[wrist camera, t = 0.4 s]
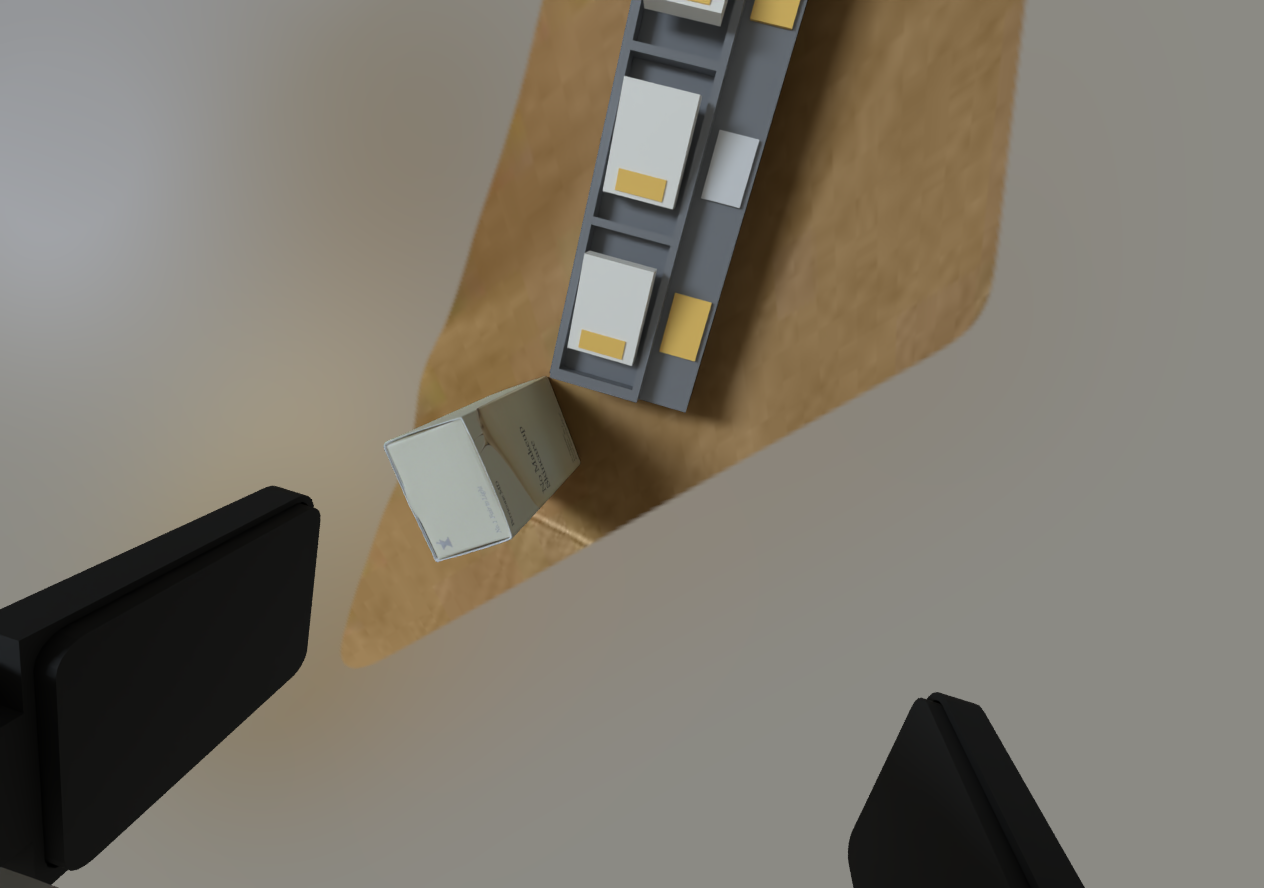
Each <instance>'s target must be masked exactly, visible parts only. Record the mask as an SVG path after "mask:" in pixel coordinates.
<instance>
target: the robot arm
mask: <svg viewBox="0 0 1264 888" xmlns="http://www.w3.org/2000/svg"><path fill="white" fill-rule="evenodd" d="M319 529H320V513H319V511H318V510H317V509H316V508H314V505H313V502H312V499H311V498H310V497H309V496H306V495H303V494H300V493H296V492H293V491H290V490H287V489H284V488H280V487H277V486H269V487H266V488H264V489H261V490H259V491H257V492H255V493H253V494H250V495H248V496H246V497H244V498H242V499H240V500H238V501H235V502H233V503H231V504H229V505H227V506H224V507H222V508H220V509H218V510H216V511H213V512H211V513H209V514H207V515H205V516H203V517H201V518H198V519H196V520H194V521H192V522H190V523H187V524H185V525H183V526H181V527H179V528H176V529H174V530H172V531H170V532H168V533H165V534H163V535H161V536H159V537H157V538H155V539H152V540H150V541H148V542H146V543H144V544H142V545H139V546H137V547H135V548H133V549H131V550H128V551H126V552H124V553H122V554H120V555H118V556H115V557H113V558H111V559H109V560H107V561H105V562H103V563H100V564H98V565H96V566H94V567H91V568H89V569H87V570H85V571H83V572H81V573H78V574H76V575H74V576H72V577H70V578H68V579H65V580H63V581H61V582H59V583H57V584H54V585H52V586H50V587H48V588H46V589H44V590H42V591H39V592H37V593H35V594H33V595H30V596H28V597H26V598H24V599H22V600H20V601H17V602H15V603H13V604H11V605H9V606H7V607H4V608H2V609H0V888H58V887H55V886H52V885H51V884H53V883H54V882H55V881H56V880H57V879H58V878H59V877H60V876H62V875H63V874H64V873H65V872H66V871H67V870H70V871H73V870H77V869H79V868H81V867H83V866H85V865H86V864H88V863H89V862H90V861H91V860H93V859H94V858H95V857H96V856H97V855H98V854H99V853H100V852H102V851H103V850H104V849H105V848H106V847H107V846H108V845H109V844H110V843H111V842H112V841H114V840H115V839H116V838H117V837H118V836H119V835H120V834H121V833H122V832H123V831H125V830H126V829H127V828H128V827H129V826H130V825H131V824H132V823H133V822H134V821H135V820H136V819H138V818H139V817H140V816H141V815H142V814H143V813H144V812H145V811H146V810H147V809H149V808H150V807H151V806H152V805H153V804H154V803H155V802H156V801H157V800H158V799H159V798H161V797H162V796H163V795H164V794H165V793H166V792H167V791H168V790H169V789H170V788H171V787H173V786H174V785H175V784H176V783H177V782H178V781H179V780H180V779H181V778H182V777H183V776H184V775H186V774H187V773H188V772H189V771H190V770H191V769H192V768H193V767H194V766H195V765H197V764H198V763H199V762H200V761H201V760H202V759H203V758H204V757H205V756H206V755H208V754H209V753H210V752H211V751H212V750H213V749H214V748H215V747H216V746H217V745H218V744H220V742H222V741H223V740H224V739H225V738H226V737H227V736H228V735H229V734H230V733H232V732H233V731H234V730H235V729H236V728H237V727H238V726H239V725H240V724H241V723H242V722H243V721H245V720H246V719H247V718H248V717H249V716H250V715H251V714H252V713H253V712H254V711H255V710H257V708H259V707H260V706H261V705H262V704H263V703H264V702H265V701H266V700H268V699H269V698H270V697H271V696H272V695H273V694H274V693H275V692H276V691H277V690H278V689H280V688H281V687H282V686H283V685H284V684H285V683H286V682H287V681H288V680H289V679H290V678H292V676H294V675H295V673H296V672H297V671H298V670H299V668H300V667H301V665H302V663H303V661H304V659H305V656H306V653H307V646H308V636H309V626H310V616H311V607H312V597H313V587H314V577H315V567H316V558H317V548H318V538H319ZM848 847H849V848H848V861H849V867H850V872H851V877H852V883H853V887H854V888H1085V887H1084V886H1083V884H1082V882H1081V880H1080V879H1079V877H1078V875H1077V873H1076V872H1075V870H1074V868H1073V866H1072V865H1071V863H1070V861H1069V859H1068V858H1067V856H1066V854H1065V853H1064V851H1063V849H1062V847H1061V846H1060V844H1059V842H1058V840H1057V838H1056V837H1055V835H1054V833H1053V831H1052V830H1051V828H1050V826H1049V824H1048V823H1047V821H1046V819H1045V817H1044V816H1043V814H1042V812H1041V810H1040V809H1039V807H1038V805H1037V803H1036V802H1035V800H1034V798H1033V797H1032V795H1031V793H1030V791H1029V789H1028V788H1027V786H1026V784H1025V783H1024V781H1023V779H1022V777H1021V775H1020V774H1019V772H1018V770H1017V768H1016V767H1015V765H1014V763H1013V761H1012V760H1011V758H1010V756H1009V754H1008V753H1007V751H1006V749H1005V748H1004V746H1003V744H1002V742H1001V740H1000V739H999V737H998V735H997V734H996V732H995V730H994V728H993V726H992V725H991V723H990V722H989V719H988V718H987V716H986V714H985V713H984V711H983V710H982V708H981V707H980V706H979V705H976V704H974V703H971V702H968V701H964V700H961V699H958V698H955V697H951V696H948V695H945V694H942V693H939V692H936V693H932V694H931V695H930V696H929V697H928V698H927V699H923V698H918V699H917V700H916V701H915V702H914V704H913V706H912V707H911V709H910V711H909V714H908V716H907V718H906V720H905V722H904V724H903V726H902V728H901V730H900V732H899V735H898V737H897V739H896V741H895V743H894V745H893V747H892V749H891V751H890V753H889V755H888V757H887V760H886V762H885V764H884V766H883V768H882V770H881V772H880V774H879V776H878V779H877V780H876V783H875V785H874V787H873V789H872V791H871V793H870V795H869V798H868V799H867V801H866V804H865V806H864V808H863V810H862V812H861V814H860V816H859V818H858V820H857V822H856V824H855V827H854V829H853V831H852V833H851V836H850V840H849V846H848Z"/></svg>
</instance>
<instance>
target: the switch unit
mask: <svg viewBox="0 0 1264 888" xmlns="http://www.w3.org/2000/svg"><path fill="white" fill-rule="evenodd" d="M807 1H808V0H728V2H727V5H726V9H725V12H724V16H723V20H722V23H721V27H720V26H716V25H712V24H708V23H704V22H699V21H695V20H691V19H687V18H683V17H678V16H674V15H670V14H666V13H662V12H658V11H653V10H649V9H645V8H644V2H643V0H632V1H631V5H630V10H629V14H628V19H627V23H626V28H625V32H624V37H623V41H622V46H621V51H620V55H619V60H618V64H617V69H616V73H615V78H614V82H613V87H612V92H611V96H610V101H609V105H608V110H607V114H606V119H605V123H604V128H603V133H602V137H601V142H600V146H599V151H598V155H597V160H596V164H595V169H594V174H593V178H592V183H591V187H590V192H589V196H588V201H587V205H586V210H585V214H584V219H583V224H582V228H581V233H580V237H579V242H578V246H577V251H576V255H575V260H574V265H573V269H572V274H571V278H570V283H569V287H568V292H567V296H566V301H565V306H564V310H563V315H562V319H561V324H560V328H559V333H558V337H557V342H556V347H555V351H554V356H553V360H552V365H551V369H550V378H554V379H557V380H561V381H564V382H567V383H571V384H574V385H578V386H581V387H585V388H588V389H591V390H595V391H598V392H602V393H605V394H608V395H612V396H615V397H619V398H622V399H626V400H629V401H632V402H637V401H638V400H639V399H641V400H644V401H647V402H651V403H654V404H658V405H661V406H665V407H668V408H671V409H675V410H678V411H682V412H686V409H687V406H688V404H689V400H690V397H691V394H692V390H693V387H694V383H695V380H696V377H697V373H698V370H699V367H700V363H701V360H702V356H703V353H704V350H705V346H706V343H707V339H708V336H709V333H710V329H711V326H712V323H713V319H714V316H715V312H716V309H717V306H718V302H719V299H720V295H721V292H722V289H723V285H724V282H725V279H726V275H727V272H728V268H729V265H730V262H731V258H732V255H733V251H734V248H735V245H736V241H737V238H738V235H739V231H740V228H741V224H742V221H743V218H744V214H745V211H746V207H747V204H748V201H749V197H750V194H751V191H752V187H753V184H754V180H755V177H756V174H757V170H758V167H759V163H760V160H761V157H762V153H763V150H764V147H765V143H766V140H767V136H768V133H769V130H770V126H771V123H772V119H773V116H774V113H775V109H776V106H777V103H778V99H779V96H780V92H781V89H782V86H783V82H784V79H785V75H786V72H787V69H788V65H789V62H790V59H791V55H792V52H793V48H794V45H795V42H796V38H797V35H798V31H799V28H800V25H801V21H802V18H803V15H804V11H805V8H806V4H807ZM624 76H627V77H631V78H635V79H639V80H643V81H647V82H651V83H655V84H659V85H663V86H667V87H671V88H675V89H679V90H683V91H687V92H691V93H695V94H699V95H701V96H702V100H701V104H700V108H699V112H698V116H697V120H696V124H695V129H694V133H693V137H692V141H691V145H690V149H689V153H688V157H687V162H686V166H685V170H684V174H683V178H682V182H681V186H680V190H679V195H678V199H677V203H676V207H675V208H674V209H669V208H665V207H662V206H658V205H654V204H650V203H647V202H643V201H639V200H635V199H631V198H628V197H624V196H620V195H616V194H613V193H609V192H605V191H603V186H604V181H605V175H606V170H607V165H608V159H609V154H610V149H611V143H612V138H613V133H614V127H615V122H616V117H617V111H618V106H619V101H620V95H621V90H622V85H623V79H624ZM588 251H593V252H597V253H601V254H604V255H608V256H611V257H615V258H619V259H622V260H626V261H630V262H633V263H637V264H641V265H644V266H648V267H652V268H655V269H657V272H656V276H655V281H654V285H653V289H652V293H651V297H650V301H649V306H648V310H647V314H646V318H645V322H644V326H643V331H642V335H641V339H640V343H639V347H638V351H637V356H636V360H635V362H634V363H633V365H632V366H630V365H626V364H623V363H620V362H616V361H613V360H609V359H606V358H602V357H599V356H595V355H592V354H588V353H585V352H581V351H578V350H574V349H571V348H567V346H568V341H569V335H570V330H571V324H572V319H573V313H574V308H575V302H576V297H577V291H578V286H579V280H580V275H581V270H582V264H583V259H584V253H586V252H588Z"/></svg>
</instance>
